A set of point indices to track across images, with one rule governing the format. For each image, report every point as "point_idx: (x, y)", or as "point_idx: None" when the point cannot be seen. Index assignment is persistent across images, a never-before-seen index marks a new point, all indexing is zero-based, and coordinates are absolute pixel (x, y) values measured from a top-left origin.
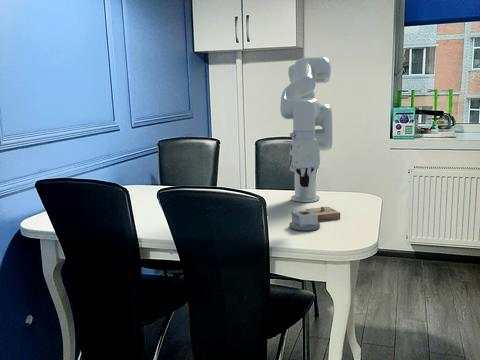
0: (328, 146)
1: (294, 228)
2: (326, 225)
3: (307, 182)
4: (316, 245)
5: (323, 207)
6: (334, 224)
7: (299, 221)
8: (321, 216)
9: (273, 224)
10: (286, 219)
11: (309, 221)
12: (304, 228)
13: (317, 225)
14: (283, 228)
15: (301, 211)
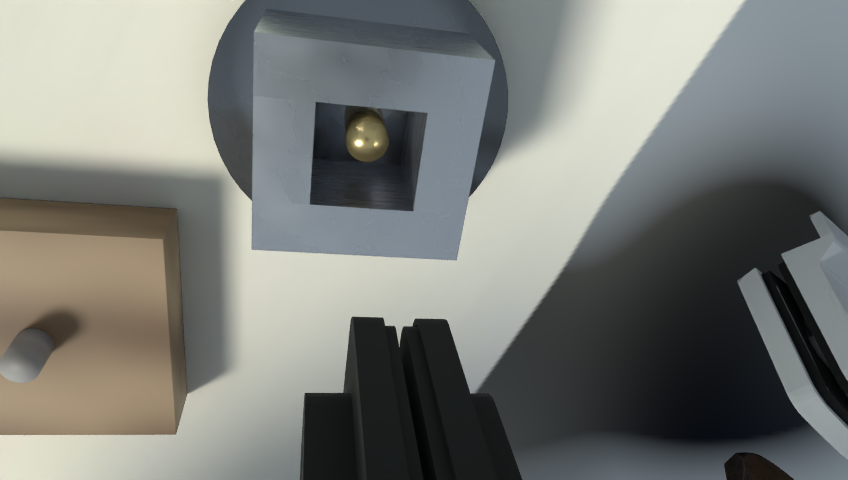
0: None
1: (500, 63)
2: (132, 56)
3: (380, 375)
4: None
5: (15, 352)
6: (31, 47)
7: (481, 48)
8: (108, 226)
9: (540, 282)
10: None
11: (363, 31)
12: None
13: (271, 2)
14: (539, 157)
15: (362, 232)
